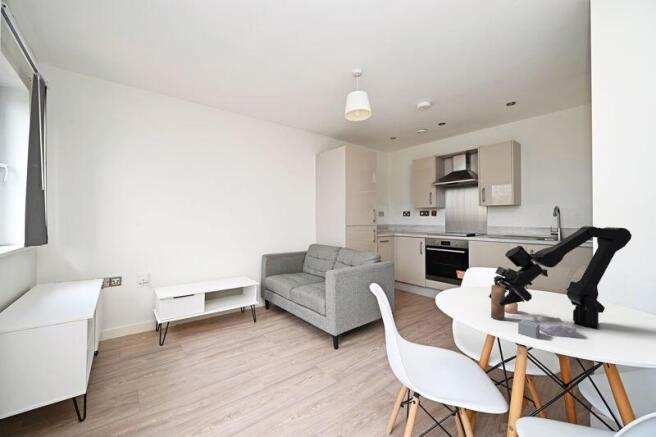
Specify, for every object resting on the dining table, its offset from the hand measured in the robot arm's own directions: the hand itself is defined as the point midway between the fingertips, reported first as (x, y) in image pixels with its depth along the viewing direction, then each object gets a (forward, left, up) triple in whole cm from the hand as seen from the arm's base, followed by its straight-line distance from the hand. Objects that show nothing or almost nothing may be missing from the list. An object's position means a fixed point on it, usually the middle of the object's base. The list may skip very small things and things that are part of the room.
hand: (494, 301), depth 107 cm
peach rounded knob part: (-2, -14, -7) cm, 16 cm away
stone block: (-17, -4, -7) cm, 19 cm away
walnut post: (-1, -1, -7) cm, 7 cm away
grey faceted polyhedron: (-13, +7, -7) cm, 16 cm away
